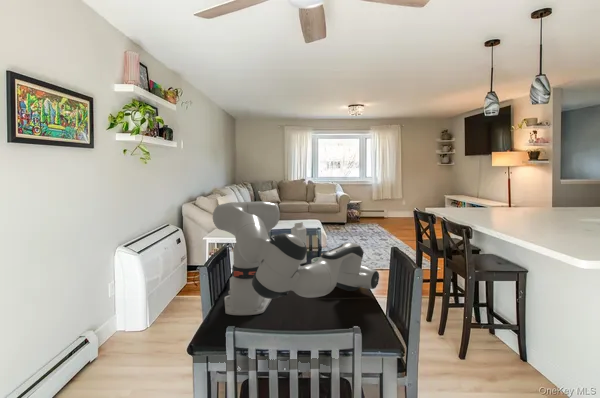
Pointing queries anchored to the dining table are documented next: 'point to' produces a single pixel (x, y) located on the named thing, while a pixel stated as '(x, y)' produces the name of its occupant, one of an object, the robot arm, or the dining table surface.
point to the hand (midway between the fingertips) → (323, 264)
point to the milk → (300, 234)
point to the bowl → (314, 260)
